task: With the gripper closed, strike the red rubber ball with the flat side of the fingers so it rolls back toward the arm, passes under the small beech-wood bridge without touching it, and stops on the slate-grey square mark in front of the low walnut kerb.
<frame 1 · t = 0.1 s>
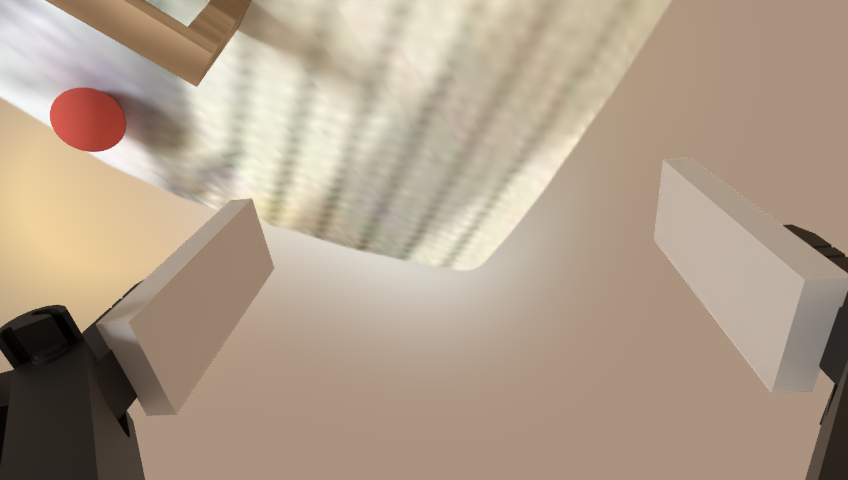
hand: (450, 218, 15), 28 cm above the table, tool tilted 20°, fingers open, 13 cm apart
ball: (89, 120, 42), on the table
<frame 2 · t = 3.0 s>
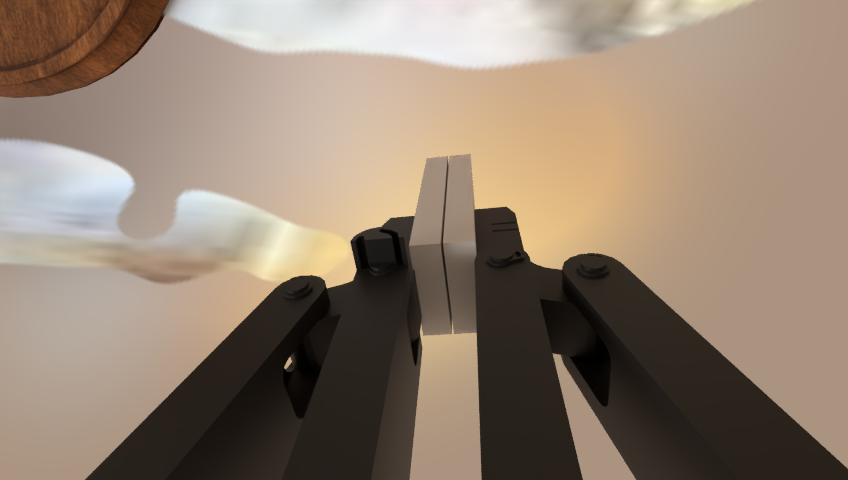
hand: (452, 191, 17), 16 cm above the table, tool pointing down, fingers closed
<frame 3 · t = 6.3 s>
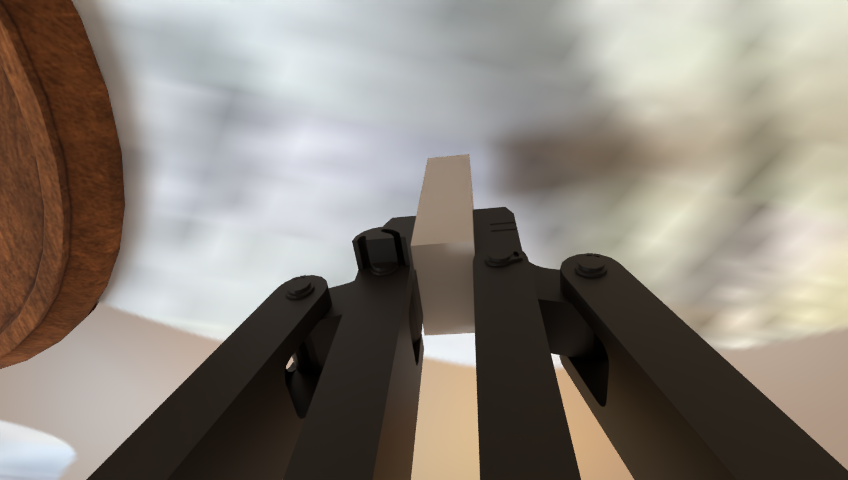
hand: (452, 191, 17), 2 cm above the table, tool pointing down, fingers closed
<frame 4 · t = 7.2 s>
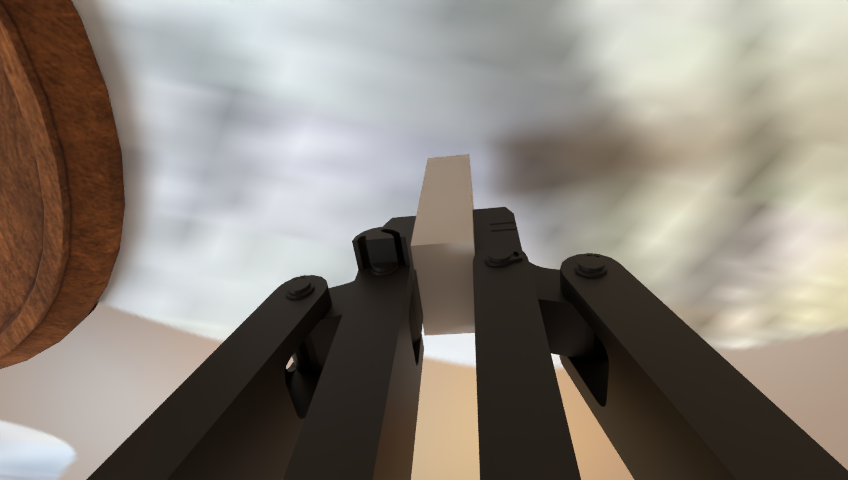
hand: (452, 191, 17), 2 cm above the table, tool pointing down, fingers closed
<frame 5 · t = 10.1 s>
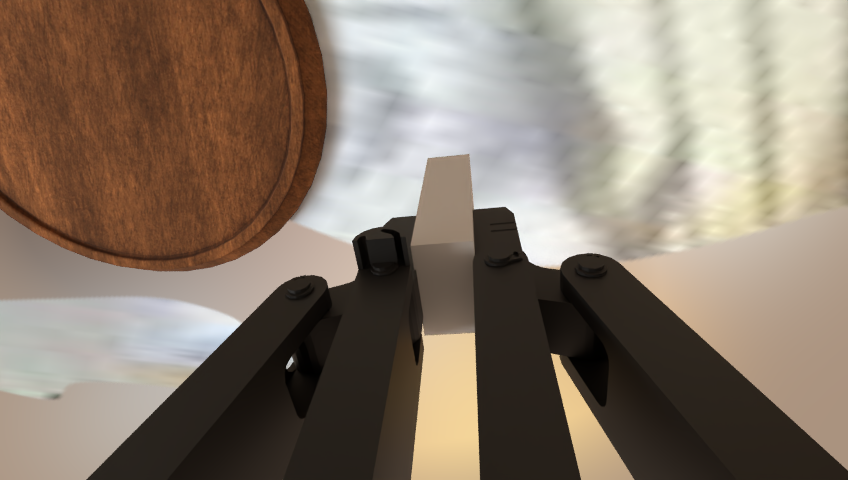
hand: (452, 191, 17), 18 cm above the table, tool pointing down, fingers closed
cutting board: (119, 81, 35), on the table
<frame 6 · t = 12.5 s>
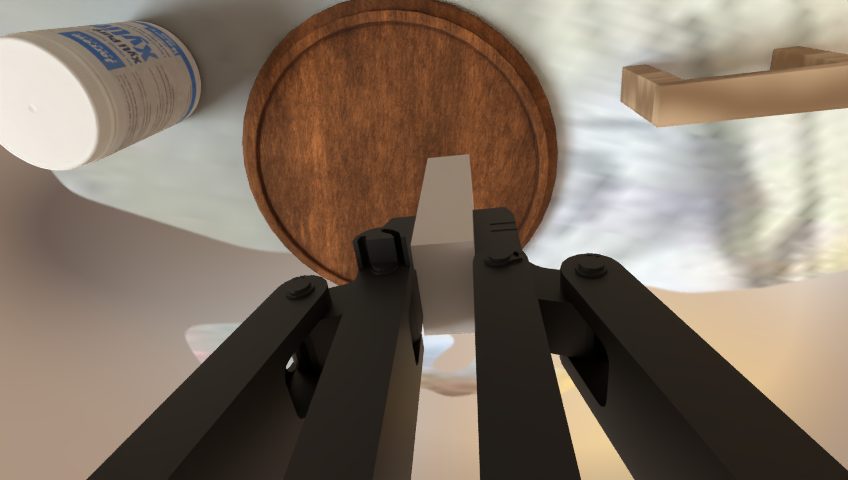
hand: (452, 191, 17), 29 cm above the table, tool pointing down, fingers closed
cutting board: (398, 167, 49), on the table
bridge: (706, 74, 42), on the table
supplement tub: (156, 73, 45), on the table
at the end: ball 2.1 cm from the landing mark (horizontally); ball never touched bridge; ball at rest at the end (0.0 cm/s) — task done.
